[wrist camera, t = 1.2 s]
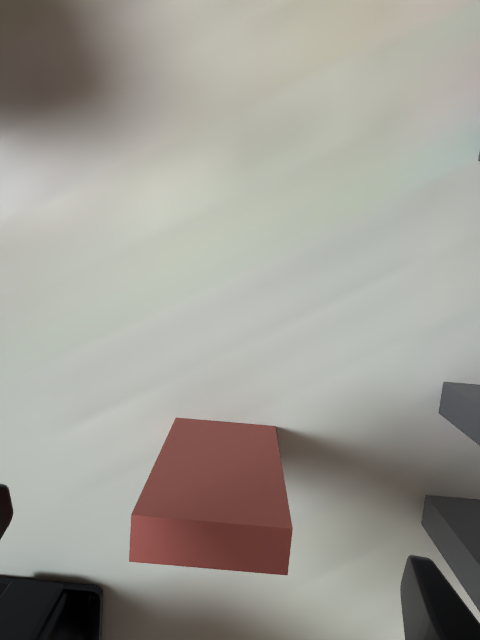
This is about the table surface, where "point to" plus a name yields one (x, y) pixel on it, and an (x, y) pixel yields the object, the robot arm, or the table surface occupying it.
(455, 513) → the domino
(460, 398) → the domino
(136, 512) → the domino
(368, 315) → the table surface
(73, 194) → the table surface
